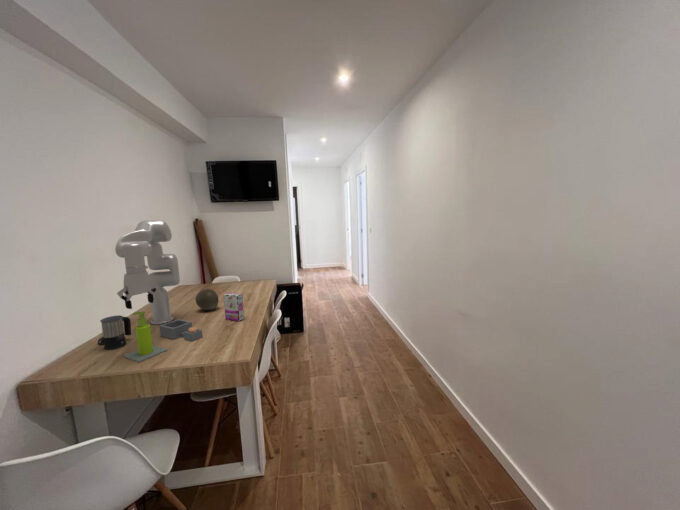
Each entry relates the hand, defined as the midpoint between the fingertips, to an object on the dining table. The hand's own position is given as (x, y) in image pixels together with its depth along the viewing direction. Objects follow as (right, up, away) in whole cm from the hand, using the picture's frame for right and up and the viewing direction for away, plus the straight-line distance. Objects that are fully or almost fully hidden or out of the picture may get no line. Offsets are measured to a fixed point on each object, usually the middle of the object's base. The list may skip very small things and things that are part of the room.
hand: (140, 305), depth 139 cm
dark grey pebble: (+2, -15, +68) cm, 70 cm away
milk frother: (-25, -23, +14) cm, 37 cm away
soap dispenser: (+1, -23, +2) cm, 23 cm away
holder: (+8, -21, +24) cm, 32 cm away
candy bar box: (+27, -17, +48) cm, 58 cm away
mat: (+1, -24, +3) cm, 24 cm away
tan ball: (+15, -18, +19) cm, 31 cm away
